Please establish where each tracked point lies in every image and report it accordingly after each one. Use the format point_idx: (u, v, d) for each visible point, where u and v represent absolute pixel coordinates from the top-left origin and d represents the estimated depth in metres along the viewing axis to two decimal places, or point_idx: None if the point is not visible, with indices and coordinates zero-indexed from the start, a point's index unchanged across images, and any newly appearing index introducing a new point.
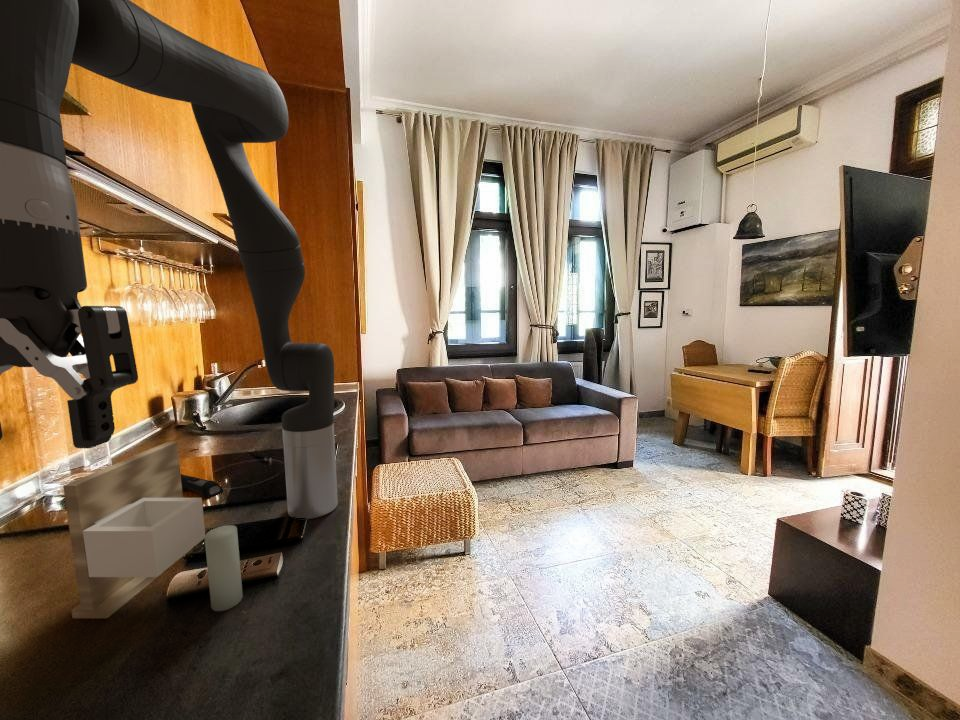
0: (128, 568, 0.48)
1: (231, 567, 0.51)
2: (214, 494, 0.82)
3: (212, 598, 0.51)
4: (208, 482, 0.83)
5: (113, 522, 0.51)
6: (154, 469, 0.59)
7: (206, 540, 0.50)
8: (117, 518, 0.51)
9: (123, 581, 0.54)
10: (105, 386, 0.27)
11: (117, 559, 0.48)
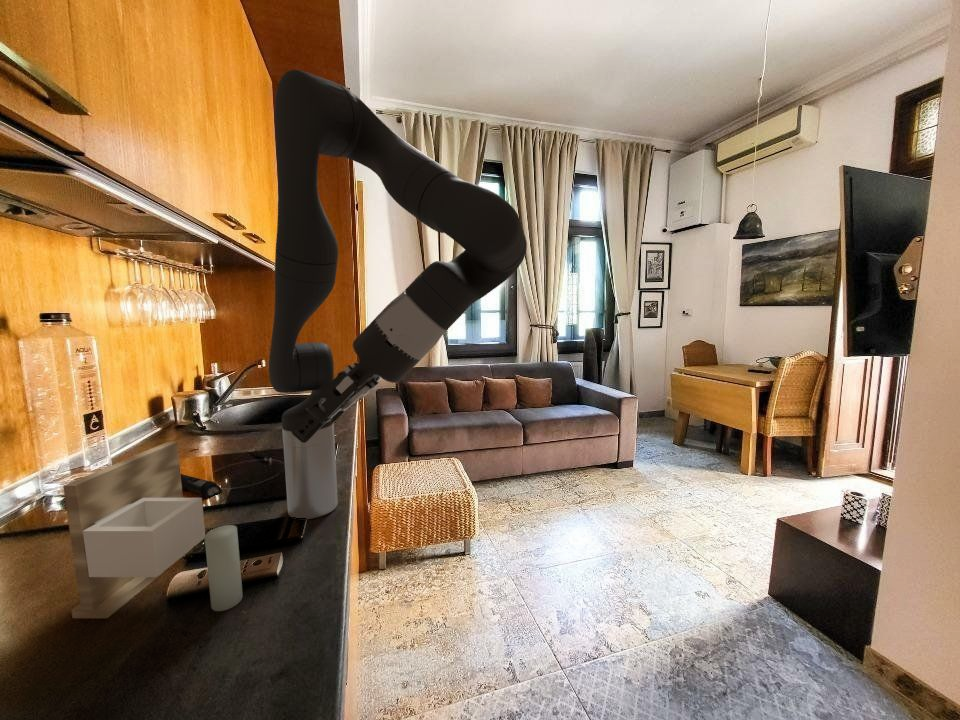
0: (128, 568, 0.48)
1: (231, 567, 0.51)
2: (212, 495, 0.82)
3: (212, 598, 0.51)
4: (207, 483, 0.83)
5: (113, 522, 0.51)
6: (154, 469, 0.59)
7: (206, 540, 0.50)
8: (117, 518, 0.51)
9: (123, 581, 0.54)
10: None
11: (117, 559, 0.48)
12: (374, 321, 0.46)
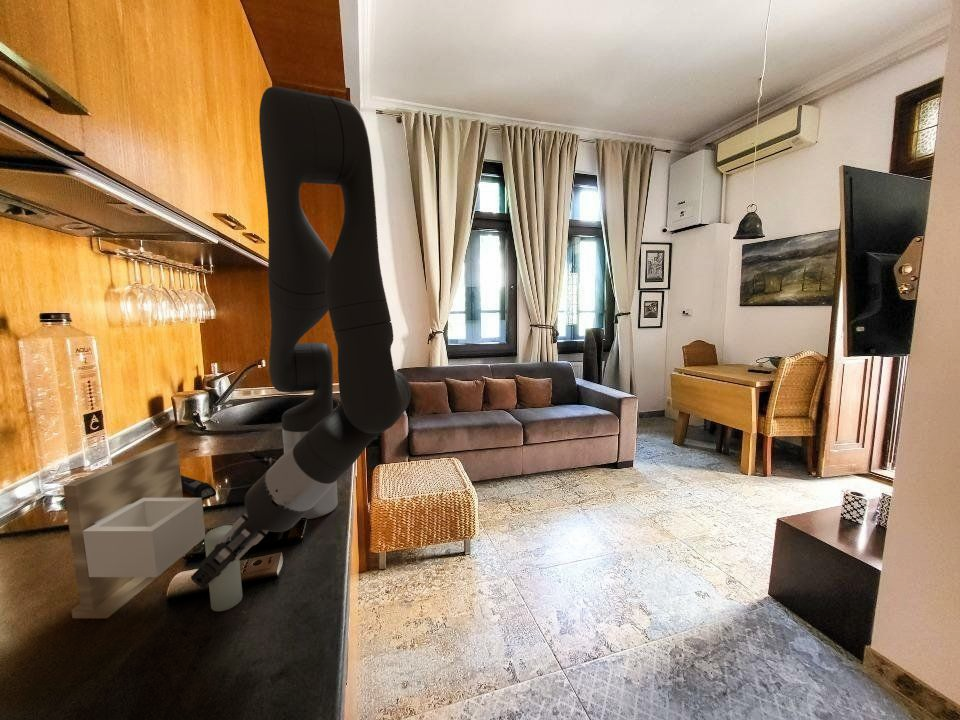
0: (128, 568, 0.48)
1: (231, 567, 0.51)
2: (206, 497, 0.81)
3: (212, 598, 0.51)
4: (201, 484, 0.82)
5: (113, 522, 0.51)
6: (154, 469, 0.59)
7: (206, 540, 0.50)
8: (117, 518, 0.51)
9: (123, 581, 0.54)
10: None
11: (117, 559, 0.48)
12: (264, 477, 0.48)
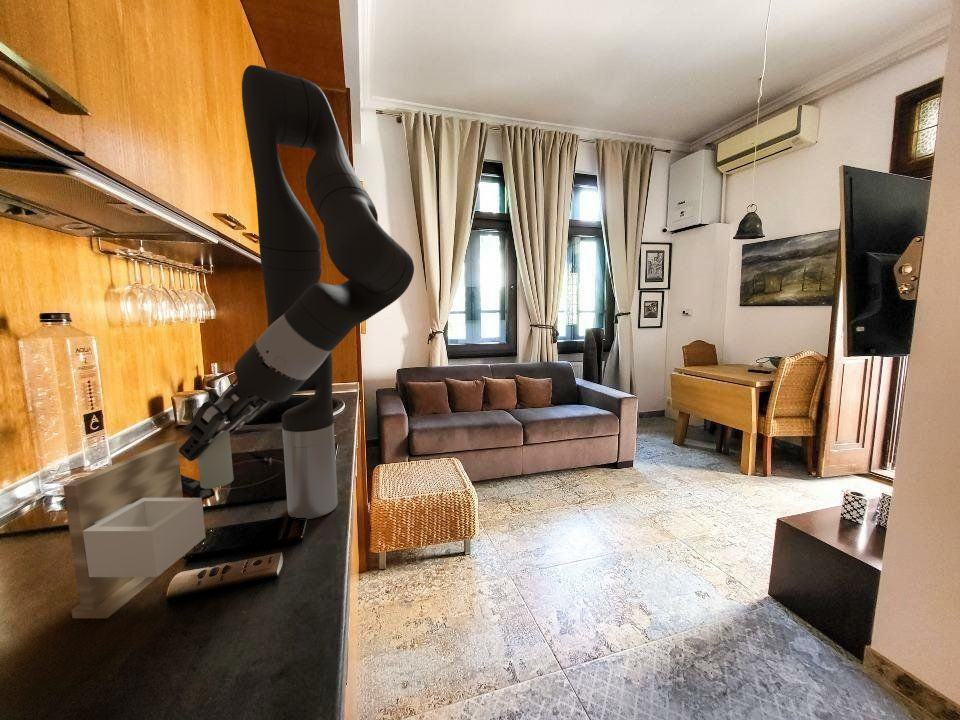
0: (128, 568, 0.48)
1: (221, 443, 0.49)
2: (205, 497, 0.81)
3: (201, 475, 0.49)
4: None
5: (113, 522, 0.51)
6: (154, 469, 0.59)
7: (194, 412, 0.48)
8: (117, 518, 0.51)
9: (123, 581, 0.54)
10: (250, 420, 0.54)
11: (117, 559, 0.48)
12: (255, 342, 0.46)
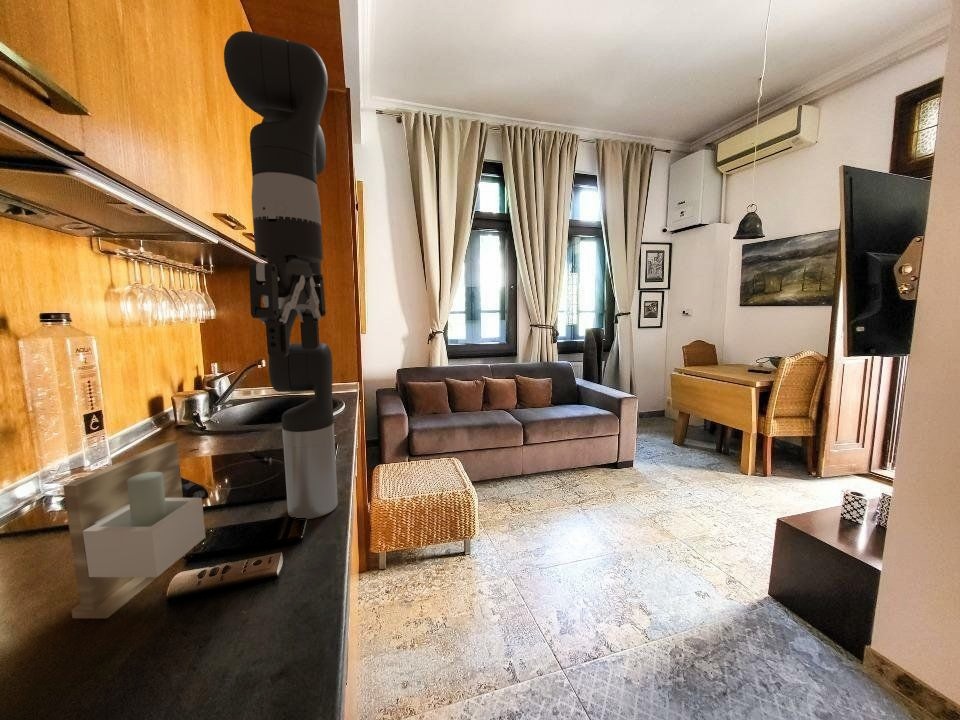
0: (128, 568, 0.48)
1: (155, 511, 0.51)
2: None
3: None
4: (194, 486, 0.81)
5: (113, 522, 0.51)
6: (154, 469, 0.59)
7: (128, 483, 0.50)
8: (117, 518, 0.51)
9: (123, 581, 0.54)
10: (324, 314, 0.55)
11: (117, 559, 0.48)
12: (253, 221, 0.45)
